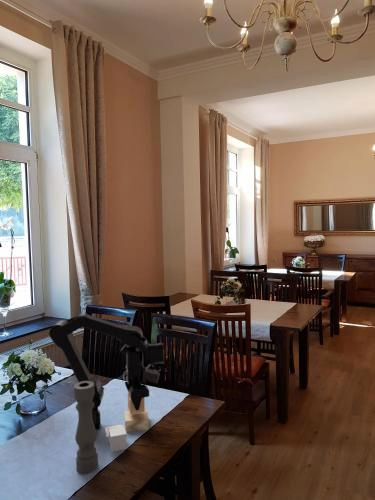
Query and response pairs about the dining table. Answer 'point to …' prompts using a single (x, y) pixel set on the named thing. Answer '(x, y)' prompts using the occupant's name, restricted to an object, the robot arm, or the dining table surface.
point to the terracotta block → (132, 408)
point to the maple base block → (136, 421)
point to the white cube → (117, 438)
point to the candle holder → (85, 428)
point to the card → (109, 428)
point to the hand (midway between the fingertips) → (136, 406)
